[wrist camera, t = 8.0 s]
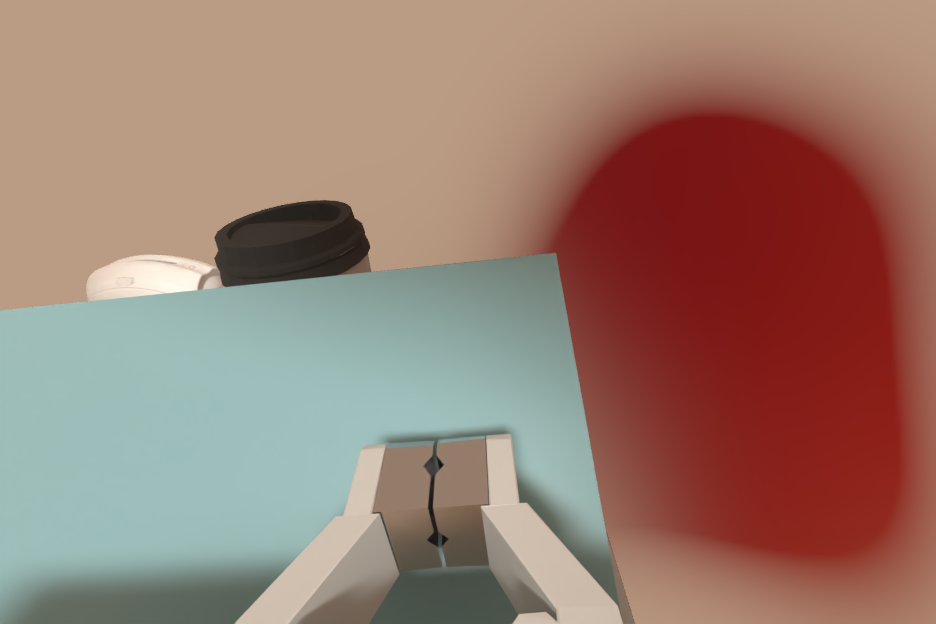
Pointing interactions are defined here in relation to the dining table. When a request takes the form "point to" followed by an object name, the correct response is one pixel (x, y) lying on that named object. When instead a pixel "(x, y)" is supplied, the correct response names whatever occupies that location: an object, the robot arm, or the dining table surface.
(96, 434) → the cover
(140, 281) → the photo printer
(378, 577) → the robot arm
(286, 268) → the coffee cup
